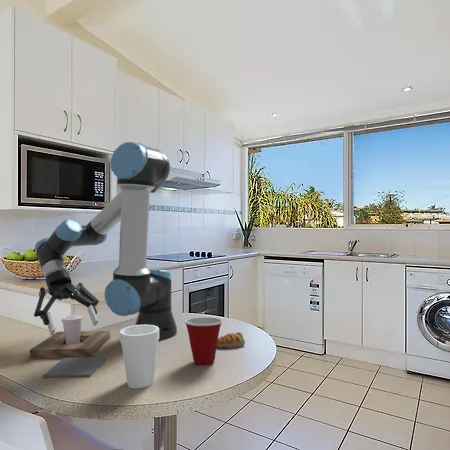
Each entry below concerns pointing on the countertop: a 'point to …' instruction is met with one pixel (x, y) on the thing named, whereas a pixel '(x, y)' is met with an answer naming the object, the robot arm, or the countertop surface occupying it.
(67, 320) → the smoothie
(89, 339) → the holder block
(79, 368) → the rubber mat
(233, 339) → the pastry
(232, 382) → the countertop surface
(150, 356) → the foam cup
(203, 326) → the plastic cup
